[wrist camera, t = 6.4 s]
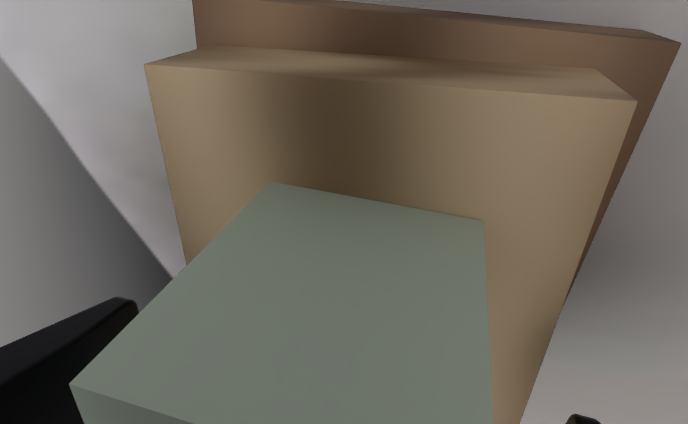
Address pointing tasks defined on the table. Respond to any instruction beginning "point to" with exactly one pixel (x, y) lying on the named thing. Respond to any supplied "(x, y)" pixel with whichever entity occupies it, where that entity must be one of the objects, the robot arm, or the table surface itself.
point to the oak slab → (406, 161)
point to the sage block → (309, 323)
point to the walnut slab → (450, 46)
